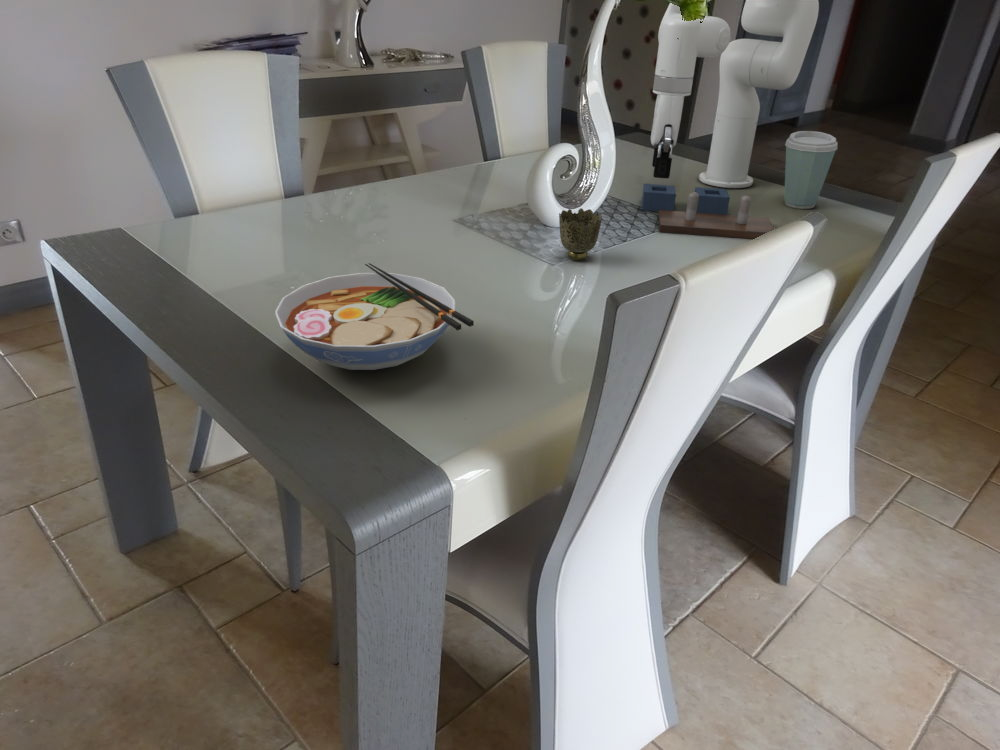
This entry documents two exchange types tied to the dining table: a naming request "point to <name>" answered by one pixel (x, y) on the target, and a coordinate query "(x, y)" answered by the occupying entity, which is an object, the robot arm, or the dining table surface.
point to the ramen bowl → (367, 318)
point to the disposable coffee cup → (807, 167)
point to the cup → (579, 232)
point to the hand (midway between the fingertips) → (660, 172)
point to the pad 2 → (712, 200)
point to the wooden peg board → (714, 221)
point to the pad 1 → (658, 197)
